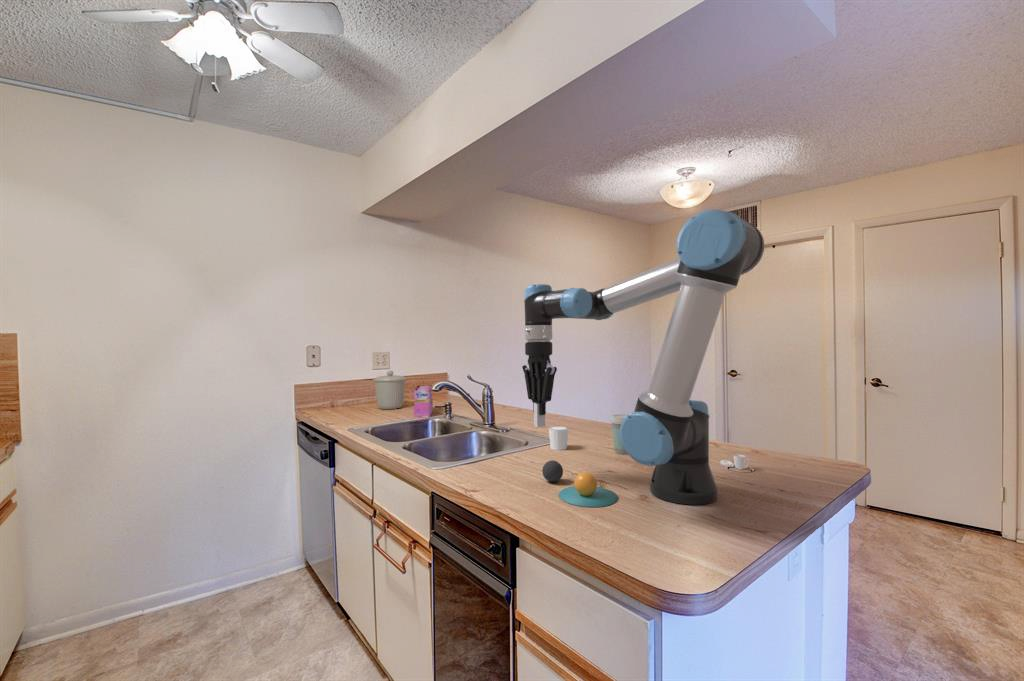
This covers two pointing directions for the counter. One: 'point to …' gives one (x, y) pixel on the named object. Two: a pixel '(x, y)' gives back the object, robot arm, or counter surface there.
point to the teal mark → (588, 497)
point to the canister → (390, 390)
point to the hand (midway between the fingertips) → (539, 426)
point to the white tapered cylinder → (558, 437)
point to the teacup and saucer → (736, 462)
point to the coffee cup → (618, 432)
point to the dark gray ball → (552, 471)
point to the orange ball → (585, 484)
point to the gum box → (423, 401)
